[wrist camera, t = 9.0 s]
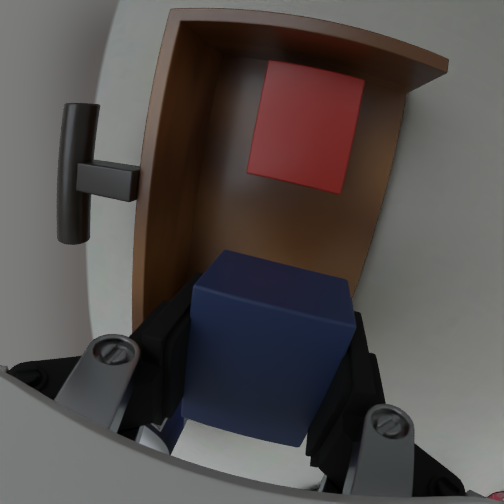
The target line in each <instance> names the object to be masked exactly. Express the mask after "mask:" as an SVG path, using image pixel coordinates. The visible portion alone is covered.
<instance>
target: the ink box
mask: <svg viewBox="0 0 504 504" xmlns="http://www.w3.org/2000/svg"><path fill="white" fill-rule="evenodd" d="M488 498H489V499H493V500H497V501H501V502H504V492H500V493H494V494H492V495H491V496H490V497H488Z"/></svg>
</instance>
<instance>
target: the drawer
mask: <svg viewBox="0 0 504 504" xmlns="http://www.w3.org/2000/svg"><path fill="white" fill-rule="evenodd" d="M269 60H277V61H283V62H289V63H295V64H300V65H306V66H311V67H316V68H320V69H325V70H329V71H334V72H338V73H342V74H346V75H350V76H354V77H357V78H361V79H364V80H365V85H364V90H363V95H362V101H361V106H360V111H359V116H358V121H357V125H356V130H355V135H354V140H353V144H352V149H351V153H350V158H349V162H348V166H347V171H346V175H345V179H344V183H343V187H342V191H341V194H340V195H337V194H333V193H330V192H326V191H322V190H318V189H314V188H309V187H305V186H301V185H297V184H293V183H288V182H284V181H280V180H275V179H271V178H266V177H261V176H257V175H252V174H248V173H247V172H246V171H247V165H248V160H249V155H250V149H251V144H252V139H253V134H254V129H255V124H256V119H257V114H258V109H259V103H260V98H261V94H262V89H263V84H264V79H265V74H266V69H267V64H268V61H269ZM448 62H449V59H447V58H445V57H442V56H440V55H438V54H435V53H433V52H430V51H428V50H425V49H422V48H420V47H417V46H414V45H412V44H409V43H406V42H403V41H400V40H397V39H394V38H391V37H388V36H384V35H381V34H378V33H374V32H371V31H367V30H363V29H360V28H356V27H352V26H348V25H343V24H339V23H335V22H330V21H325V20H320V19H315V18H309V17H303V16H297V15H290V14H283V13H275V12H266V11H256V10H243V9H225V8H175V9H170V12H169V16H168V20H167V24H166V28H165V32H164V36H163V40H162V44H161V48H160V52H159V57H158V61H157V66H156V71H155V76H154V81H153V86H152V91H151V97H150V102H149V108H148V114H147V120H146V127H145V133H144V140H143V148H142V155H141V163H140V167H139V166H133V165H127V164H120V163H114V162H107V161H100V160H94V150H95V141H96V132H97V124H98V117H99V110H100V105H99V104H87V103H67V104H65V105H64V111H63V119H62V127H61V136H60V147H59V160H58V179H57V238H58V241H60V242H61V243H64V244H72V245H75V244H81V243H84V242H87V241H88V240H89V238H90V209H91V194H94V195H98V196H103V197H108V198H112V199H117V200H122V201H126V202H131V201H134V200H137V202H136V215H135V229H134V247H133V275H132V333H133V332H134V331H135V330H136V329H137V328H138V327H139V326H140V325H141V323H142V322H143V321H144V320H145V319H146V318H147V317H148V316H149V315H150V314H151V313H152V312H153V311H154V309H155V308H156V307H157V306H158V305H159V304H160V303H161V302H162V301H168V302H170V301H171V300H172V299H173V298H174V297H175V296H176V294H177V293H178V292H179V291H180V290H181V289H182V288H183V287H184V286H185V284H186V283H187V282H188V281H189V280H190V279H191V278H192V277H193V276H194V274H195V273H196V272H200V273H204V272H205V271H206V270H207V269H208V268H209V267H210V265H211V264H212V263H213V262H214V261H215V260H216V258H217V257H218V256H219V255H220V254H221V253H222V251H223V250H229V251H233V252H237V253H241V254H245V255H249V256H253V257H258V258H262V259H266V260H270V261H274V262H278V263H282V264H286V265H290V266H294V267H298V268H302V269H306V270H310V271H314V272H318V273H322V274H326V275H330V276H334V277H338V278H342V279H346V280H347V281H348V284H349V289H350V294H351V299H352V297H353V295H354V292H355V289H356V286H357V283H358V280H359V277H360V274H361V271H362V268H363V265H364V262H365V259H366V256H367V253H368V250H369V247H370V243H371V240H372V237H373V234H374V230H375V227H376V223H377V220H378V217H379V213H380V209H381V206H382V202H383V199H384V195H385V191H386V187H387V183H388V179H389V175H390V171H391V167H392V163H393V159H394V154H395V150H396V145H397V141H398V136H399V131H400V126H401V121H402V116H403V111H404V106H405V100H406V94H407V93H409V92H411V91H412V90H414V89H416V88H418V87H420V86H422V85H424V84H426V83H428V82H430V81H432V80H434V79H436V78H438V77H440V76H442V75H444V74H446V73H447V71H448Z"/></svg>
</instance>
